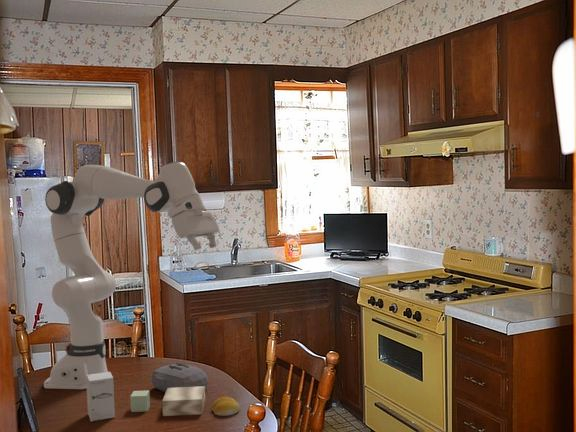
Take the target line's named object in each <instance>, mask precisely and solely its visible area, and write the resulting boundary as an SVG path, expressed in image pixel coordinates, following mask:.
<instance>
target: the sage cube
mask: <svg viewBox="0 0 576 432" xmlns="http://www.w3.org/2000/svg"><path fill="white" fill-rule="evenodd" d="M150 399H151V397H150V390H149V389H147V390H133V391H132V393H131V394H130V411H131V413H134V412H135V413H137V412H148V411H149V408H150V406H151V400H150Z"/></svg>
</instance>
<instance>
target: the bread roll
mask: <svg viewBox="0 0 576 432" xmlns="http://www.w3.org/2000/svg"><path fill="white" fill-rule="evenodd" d="M240 408H241V407H240V404H239V403H238V402H237V401H236V400H235V398H232V397H231V396H220V397H219V398H217V399H215V401H213V403H212V405H211V409H212V411H213V413H214V414H215V416H221V417H223V416H224V417H226V416H227V417H228V416H232V415H235V414H236V413H238V412H239V411H240Z"/></svg>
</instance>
